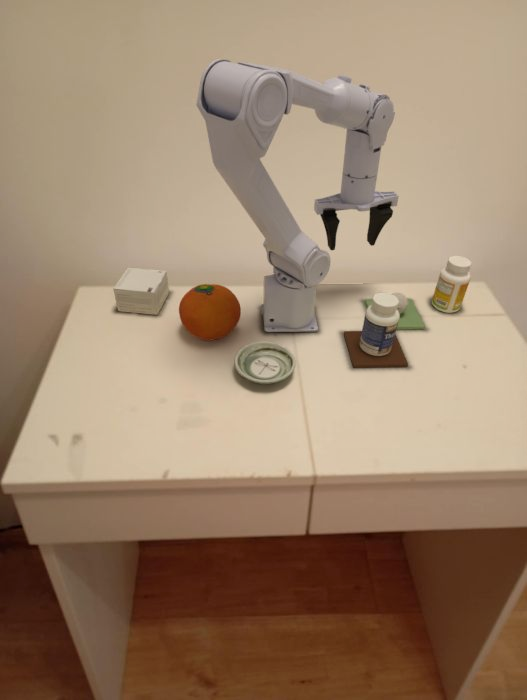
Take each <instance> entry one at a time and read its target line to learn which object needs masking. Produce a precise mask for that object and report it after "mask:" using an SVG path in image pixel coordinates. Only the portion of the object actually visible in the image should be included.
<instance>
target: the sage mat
mask: <svg viewBox="0 0 527 700" xmlns="http://www.w3.org/2000/svg"><path fill="white" fill-rule="evenodd" d="M407 300H408V307H407V309H406V310H405V311H404V312H403V313H401V314H399V315H400V318H399V322H398V326H397V329H396V331H397V330H398V331H399V330H425V329H426V326H425V323H424V321H423V320H422V317H421V316H420V314H419V312H418V310H417V307H416V306H415V303H414V302H413V300H412V299H411V298H407ZM372 301H373V298H365V300H364V303H365V305H366V309H367V308H368V307H369V306H370V305H372Z"/></svg>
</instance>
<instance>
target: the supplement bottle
mask: <svg viewBox="0 0 527 700" xmlns="http://www.w3.org/2000/svg"><path fill="white" fill-rule="evenodd" d="M471 267H472V261H471V259H468V258H467V257H465V256H461V255H453V256H450V257H449V258H448V260H447V262H446V265H445V266H444V267H442V268H441V269H440V272H439V275H438V279H437V281H436V282H437V283H436V286H435V288H434V289H435V290H434V293H433V295H432V299H431V304H432V306H433V307H434V309H436V310H438V311H439V312H443V313H456V312H458V311H459V310H460V309H461V307H462V306H463V305H462V304H463V302H464V300H465V299H464V298H465V295H466V294H467V290H468V288H469V284H470V282H471V277H472V276H471V273H470V270H471Z"/></svg>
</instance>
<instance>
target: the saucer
mask: <svg viewBox="0 0 527 700" xmlns="http://www.w3.org/2000/svg"><path fill="white" fill-rule="evenodd" d="M296 364H297V361H296V358H295V355H294V354H293V352H292V351H291V349H289V348H288V347H286V346H284V345H283V344H280V343H277V342H274V341H268V340H267V341H266V340H260V341H254V342H251V343H248V344H246V345H244V346H243V347H241V348H240V349H239V350H238V351H237V352H236V354H235V356H234V367H235V370H236V371H237V373H238V374H239V375H240V376H241V377H242V378H243V379H245V380H247V381H249V382H252V383H255V384H261V385H271V384H276V383H280V382H282V381H284V380H286V379H287V378H289V377H290V376H291V375H292V374H293V373H294V371H295V368H296Z"/></svg>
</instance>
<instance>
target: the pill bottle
mask: <svg viewBox="0 0 527 700" xmlns="http://www.w3.org/2000/svg"><path fill="white" fill-rule="evenodd" d="M392 294H393V293H389V292H378V293H375V294H374V295H373V297H372V299H373V301H372V305H370V306H369V307H368V308H367V307H366V310H365V313H364V318H363V325H362V330H361V331H362V333H361V338H360V347H361V349H362V350H363V351H364V352H366V353H368V354H370V355H373V356H383V355H386V354H388V353H389V352H390V351H391V348H392V345H393V341H394V337H395V334H397V330H396V329H397V326H398V322H399V318H400V315H399V312H398V310H397V308H398V303H399V300H398V298H397V297H396V296H394V295H392Z"/></svg>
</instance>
